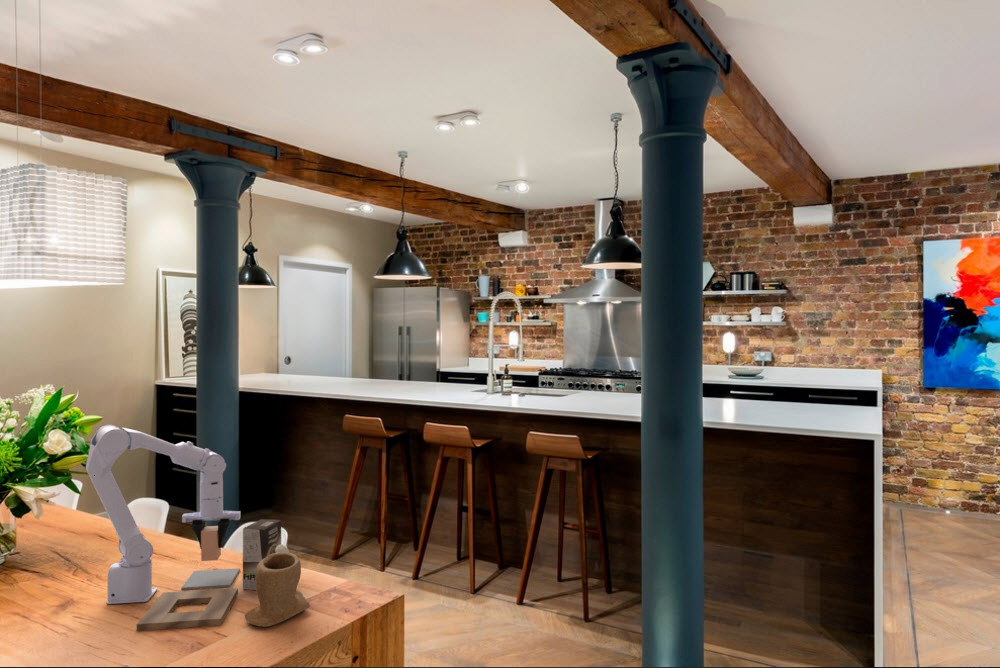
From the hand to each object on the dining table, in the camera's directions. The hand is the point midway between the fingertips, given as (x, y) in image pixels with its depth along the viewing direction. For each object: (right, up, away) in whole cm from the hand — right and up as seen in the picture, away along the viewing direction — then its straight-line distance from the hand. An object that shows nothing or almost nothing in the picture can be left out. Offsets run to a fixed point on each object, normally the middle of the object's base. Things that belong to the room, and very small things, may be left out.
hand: (211, 547), depth 181 cm
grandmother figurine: (+22, -9, -9) cm, 26 cm away
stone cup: (+26, -10, -23) cm, 36 cm away
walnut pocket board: (+3, -9, -20) cm, 22 cm away
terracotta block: (0, -3, -1) cm, 3 cm away
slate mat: (0, -9, 0) cm, 9 cm away
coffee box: (+15, -9, -2) cm, 17 cm away
